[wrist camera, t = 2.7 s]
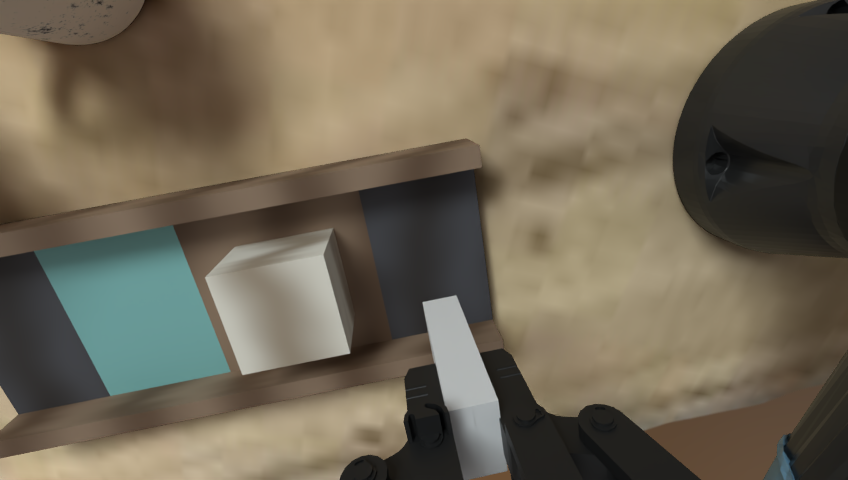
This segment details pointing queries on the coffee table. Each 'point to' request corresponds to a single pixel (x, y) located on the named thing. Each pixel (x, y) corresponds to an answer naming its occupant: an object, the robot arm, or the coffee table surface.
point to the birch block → (284, 301)
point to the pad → (136, 309)
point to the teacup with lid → (67, 19)
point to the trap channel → (204, 248)
